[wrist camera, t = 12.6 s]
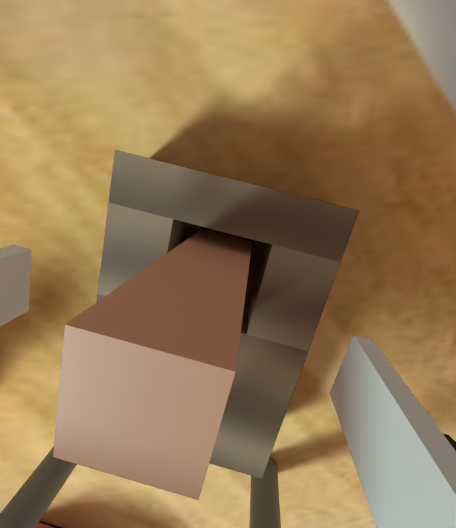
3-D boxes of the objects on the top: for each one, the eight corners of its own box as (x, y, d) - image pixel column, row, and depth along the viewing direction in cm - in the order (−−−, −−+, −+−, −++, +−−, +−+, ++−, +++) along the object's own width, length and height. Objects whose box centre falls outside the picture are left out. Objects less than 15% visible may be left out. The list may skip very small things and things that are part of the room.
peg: (201, 229, 22) (65, 324, 6) (252, 242, 22) (235, 371, 6) (191, 277, 23) (53, 456, 8) (239, 290, 23) (198, 500, 7)
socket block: (148, 158, 21) (115, 149, 16) (335, 205, 20) (359, 210, 16) (114, 382, 26) (81, 426, 22) (261, 424, 26) (261, 478, 21)
